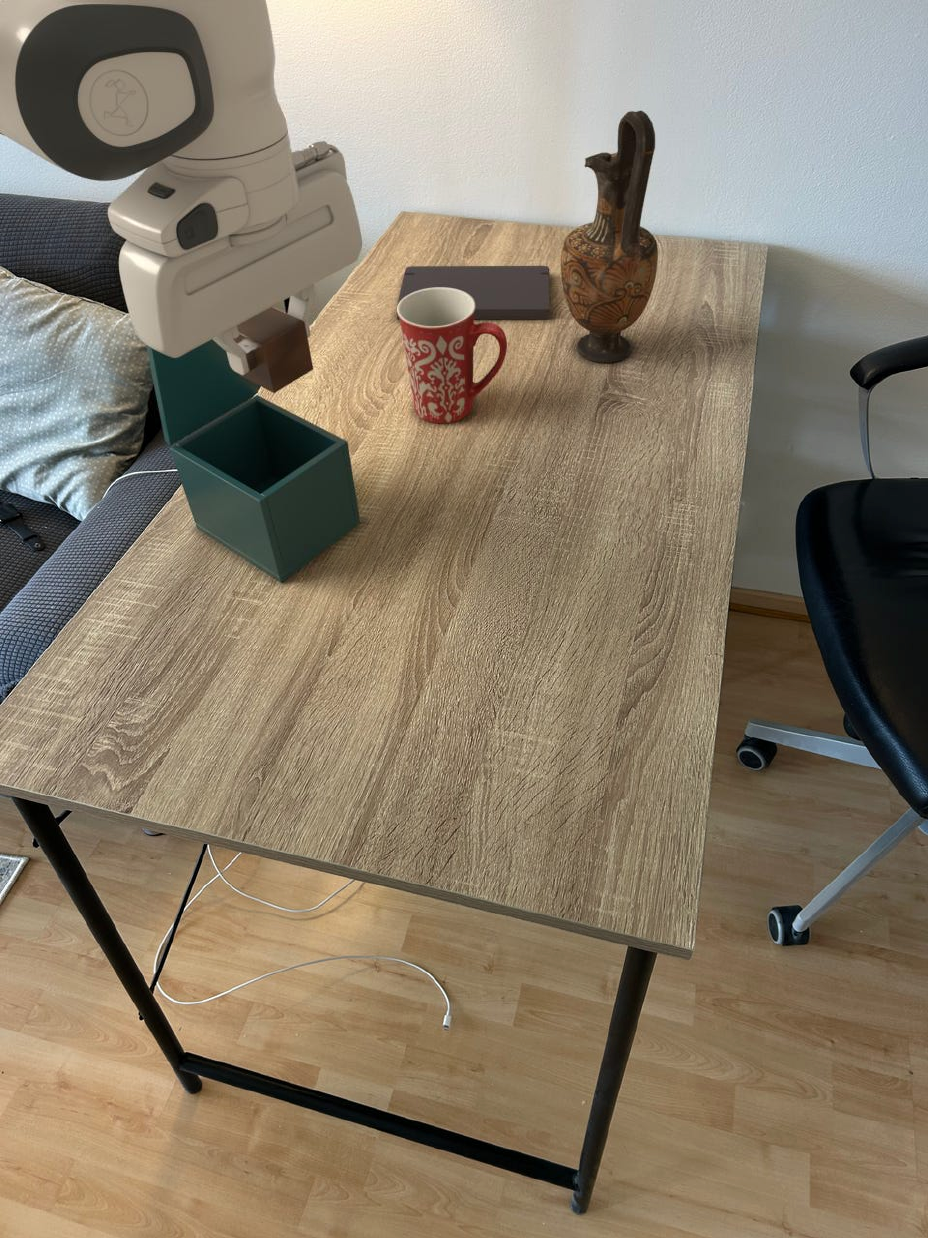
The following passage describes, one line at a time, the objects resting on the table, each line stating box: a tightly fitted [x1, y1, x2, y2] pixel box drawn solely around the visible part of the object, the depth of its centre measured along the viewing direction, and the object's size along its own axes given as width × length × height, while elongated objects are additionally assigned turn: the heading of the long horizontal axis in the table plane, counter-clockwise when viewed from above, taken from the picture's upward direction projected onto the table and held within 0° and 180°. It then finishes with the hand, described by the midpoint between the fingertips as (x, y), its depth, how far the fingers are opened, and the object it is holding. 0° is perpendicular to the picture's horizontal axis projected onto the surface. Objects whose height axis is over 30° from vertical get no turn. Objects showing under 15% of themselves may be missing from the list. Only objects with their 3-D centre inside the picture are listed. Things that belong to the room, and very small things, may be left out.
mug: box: [396, 287, 508, 424], centre depth 106 cm, size 13×9×14 cm
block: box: [233, 306, 314, 394], centre depth 73 cm, size 4×4×4 cm
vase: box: [560, 110, 659, 364], centre depth 107 cm, size 12×12×30 cm
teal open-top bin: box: [169, 394, 361, 583], centre depth 93 cm, size 14×12×11 cm
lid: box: [145, 339, 259, 447], centre depth 87 cm, size 14×12×5 cm
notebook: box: [395, 265, 551, 320], centre depth 129 cm, size 13×2×21 cm
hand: (271, 354), depth 73 cm, fingers closed on block, 4 cm apart
